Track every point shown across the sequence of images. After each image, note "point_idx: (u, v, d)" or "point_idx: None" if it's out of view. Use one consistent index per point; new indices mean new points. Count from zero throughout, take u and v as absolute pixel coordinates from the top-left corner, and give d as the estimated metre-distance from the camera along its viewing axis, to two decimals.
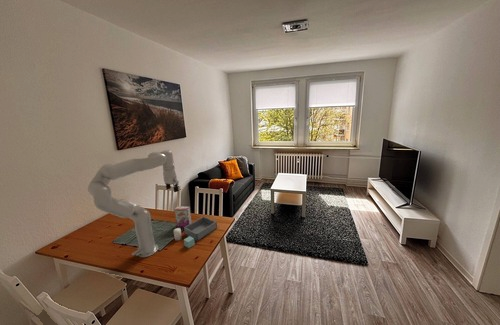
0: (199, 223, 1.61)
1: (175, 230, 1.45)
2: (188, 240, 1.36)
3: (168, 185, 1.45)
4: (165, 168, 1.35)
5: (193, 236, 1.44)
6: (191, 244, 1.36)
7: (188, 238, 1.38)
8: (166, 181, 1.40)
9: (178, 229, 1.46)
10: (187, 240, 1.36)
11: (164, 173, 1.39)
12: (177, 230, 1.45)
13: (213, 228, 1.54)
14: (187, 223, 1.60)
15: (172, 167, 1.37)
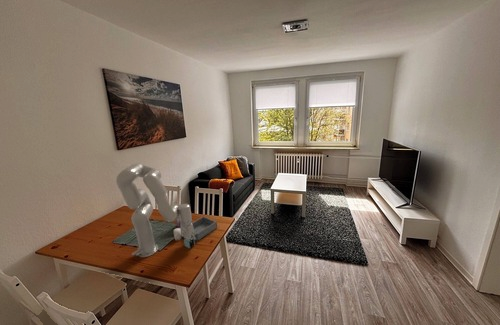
0: (199, 223, 1.61)
1: (175, 230, 1.45)
2: (188, 240, 1.36)
3: None
4: (183, 223, 1.30)
5: None
6: None
7: None
8: (183, 235, 1.35)
9: (178, 229, 1.46)
10: (187, 240, 1.36)
11: (181, 227, 1.34)
12: (177, 230, 1.45)
13: (213, 228, 1.54)
14: None
15: (190, 222, 1.32)
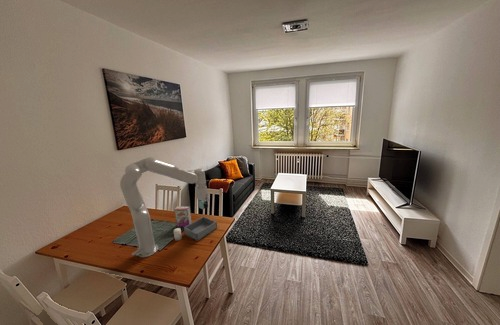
0: (199, 223, 1.61)
1: (175, 230, 1.45)
2: (202, 202, 1.51)
3: None
4: (198, 186, 1.45)
5: (193, 236, 1.44)
6: None
7: (202, 201, 1.53)
8: (198, 197, 1.50)
9: (178, 229, 1.46)
10: (201, 202, 1.51)
11: (196, 190, 1.49)
12: (177, 230, 1.45)
13: (213, 228, 1.54)
14: (187, 223, 1.60)
15: (204, 185, 1.47)
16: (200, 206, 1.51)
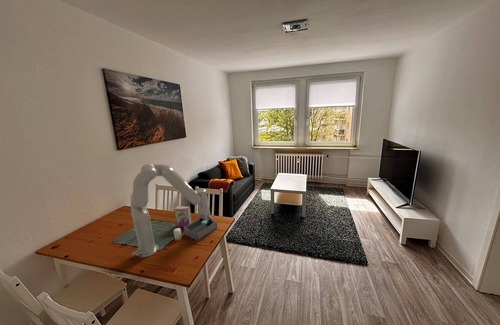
0: (199, 223, 1.61)
1: (175, 230, 1.45)
2: (205, 222, 1.55)
3: (202, 219, 1.59)
4: (201, 206, 1.49)
5: (193, 236, 1.44)
6: (207, 226, 1.56)
7: (204, 221, 1.57)
8: (200, 216, 1.54)
9: (178, 229, 1.46)
10: (203, 222, 1.55)
11: (199, 209, 1.53)
12: (177, 230, 1.45)
13: (213, 228, 1.54)
14: (187, 223, 1.60)
15: (207, 204, 1.51)
16: (202, 226, 1.56)
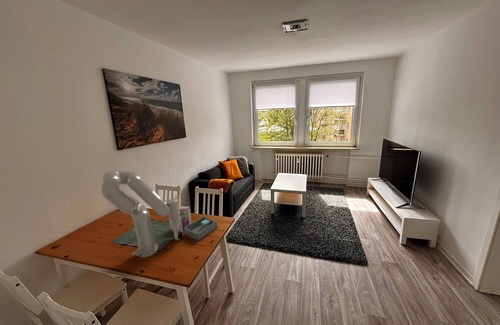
0: (199, 223, 1.61)
1: None
2: (205, 222, 1.55)
3: None
4: (171, 217, 1.38)
5: (193, 236, 1.44)
6: (207, 226, 1.56)
7: (204, 221, 1.57)
8: (172, 228, 1.43)
9: None
10: (203, 222, 1.55)
11: (170, 220, 1.42)
12: None
13: (213, 228, 1.54)
14: (187, 223, 1.60)
15: (178, 215, 1.40)
16: (202, 226, 1.56)
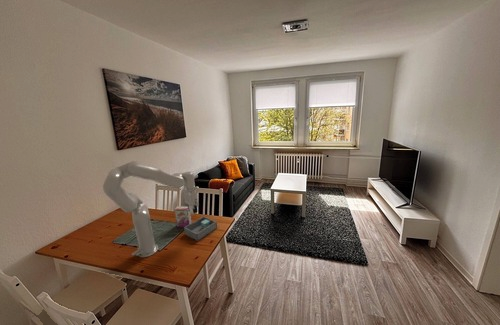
0: (199, 223, 1.61)
1: None
2: (205, 222, 1.55)
3: None
4: (187, 190, 1.37)
5: (193, 236, 1.44)
6: (207, 226, 1.56)
7: (204, 221, 1.57)
8: (187, 202, 1.42)
9: None
10: (203, 222, 1.55)
11: (185, 194, 1.41)
12: None
13: (213, 228, 1.54)
14: (187, 223, 1.60)
15: (193, 188, 1.39)
16: (202, 226, 1.56)
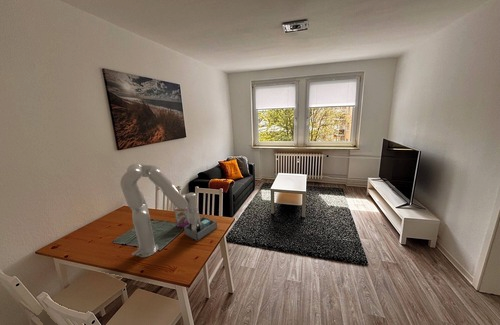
0: None
1: (193, 225, 1.48)
2: (205, 222, 1.55)
3: None
4: (190, 210, 1.41)
5: (193, 236, 1.44)
6: (207, 226, 1.56)
7: (204, 221, 1.57)
8: (190, 222, 1.46)
9: None
10: (203, 222, 1.55)
11: (188, 214, 1.45)
12: None
13: (213, 228, 1.54)
14: (187, 223, 1.60)
15: (196, 209, 1.43)
16: (202, 226, 1.56)
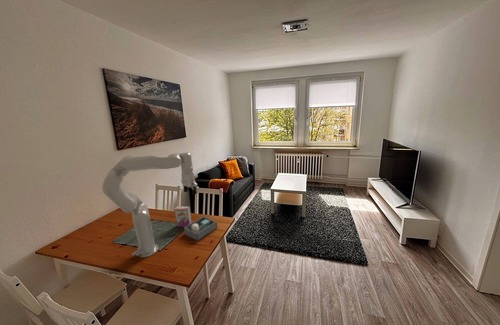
0: (199, 223, 1.61)
1: (193, 225, 1.48)
2: (205, 222, 1.55)
3: (186, 188, 1.44)
4: (184, 170, 1.34)
5: (193, 236, 1.44)
6: (207, 226, 1.56)
7: (204, 221, 1.57)
8: (184, 184, 1.38)
9: (196, 224, 1.49)
10: (203, 222, 1.55)
11: (182, 175, 1.38)
12: (195, 225, 1.48)
13: (213, 228, 1.54)
14: (187, 223, 1.60)
15: (191, 169, 1.36)
16: (202, 226, 1.56)
